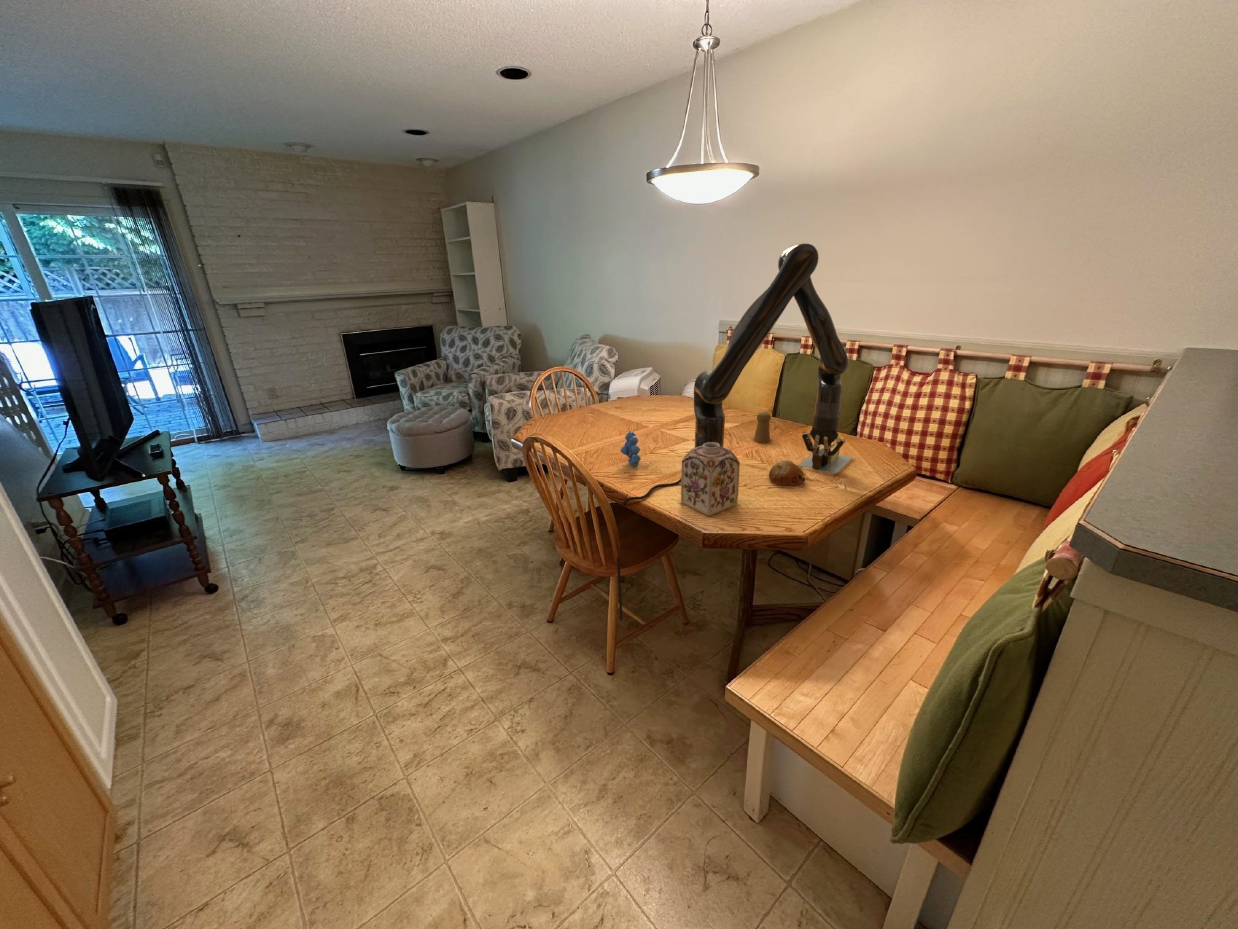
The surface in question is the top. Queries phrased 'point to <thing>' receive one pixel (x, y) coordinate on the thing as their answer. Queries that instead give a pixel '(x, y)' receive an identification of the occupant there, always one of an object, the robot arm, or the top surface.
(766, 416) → the cork
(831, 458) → the butter slice
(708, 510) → the decorative jar
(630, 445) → the grapes
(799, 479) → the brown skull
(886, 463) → the top surface
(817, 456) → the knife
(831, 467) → the butter dish
